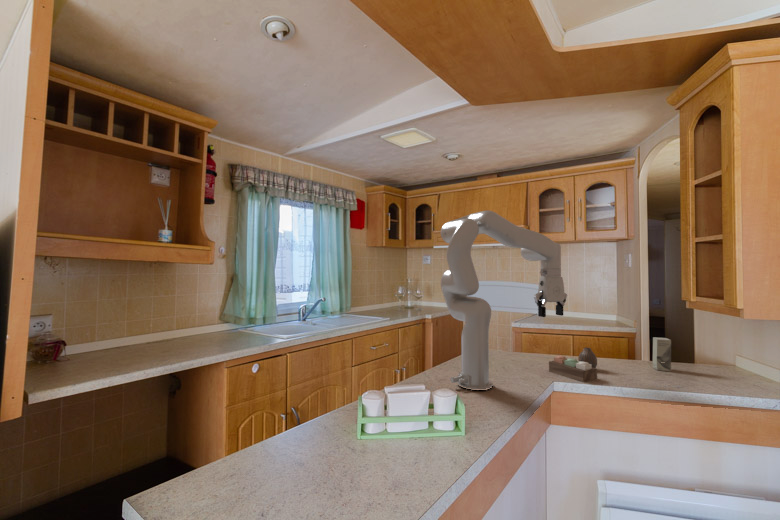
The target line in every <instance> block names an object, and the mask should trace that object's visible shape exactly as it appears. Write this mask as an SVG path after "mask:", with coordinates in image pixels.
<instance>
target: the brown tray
mask: <svg viewBox="0 0 780 520" xmlns="http://www.w3.org/2000/svg"><path fill="white" fill-rule="evenodd" d="M548 372H550V373H553V374H556V375H559V376H562V377H566V378H567V379H568V378H569V379H571V380H574V381H577V382H581V383H586V382H591V381H595V380H594V379H596V380H598V368H597V367H596V368H593V367H592V369H590V370H582V369H578V368H576V367H571V366H568V365H565V364H561V363H557V362H554V360H550V361H548ZM590 380H591V381H590Z"/></svg>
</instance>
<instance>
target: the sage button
mask: <svg viewBox="0 0 780 520" xmlns="http://www.w3.org/2000/svg"><path fill="white" fill-rule="evenodd" d="M579 362H580V361H578V359H576V358H569V359H567V360H565V365H568V366H571V367H576V363H579Z"/></svg>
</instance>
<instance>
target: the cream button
mask: <svg viewBox="0 0 780 520" xmlns="http://www.w3.org/2000/svg"><path fill="white" fill-rule="evenodd" d="M576 368H578V369H582V370H590V369H592V365H591V364H589V363H588V362H583V361H580V362H579V363H576Z"/></svg>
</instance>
